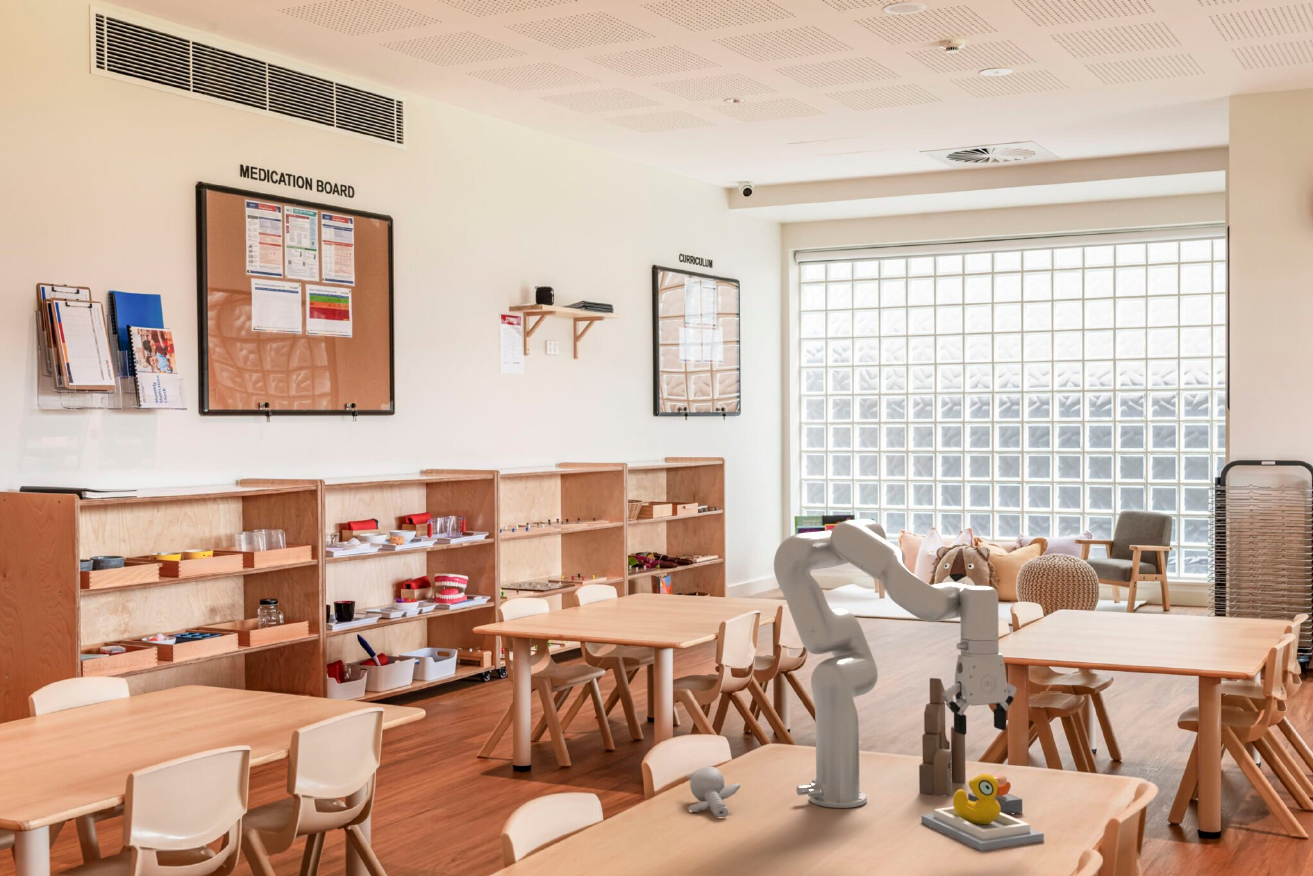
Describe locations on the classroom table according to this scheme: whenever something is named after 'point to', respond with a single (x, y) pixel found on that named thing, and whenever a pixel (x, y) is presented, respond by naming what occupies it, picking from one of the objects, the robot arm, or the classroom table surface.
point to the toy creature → (710, 790)
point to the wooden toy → (940, 748)
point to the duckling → (980, 800)
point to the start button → (1000, 778)
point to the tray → (983, 830)
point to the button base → (1004, 803)
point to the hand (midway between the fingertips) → (980, 731)
